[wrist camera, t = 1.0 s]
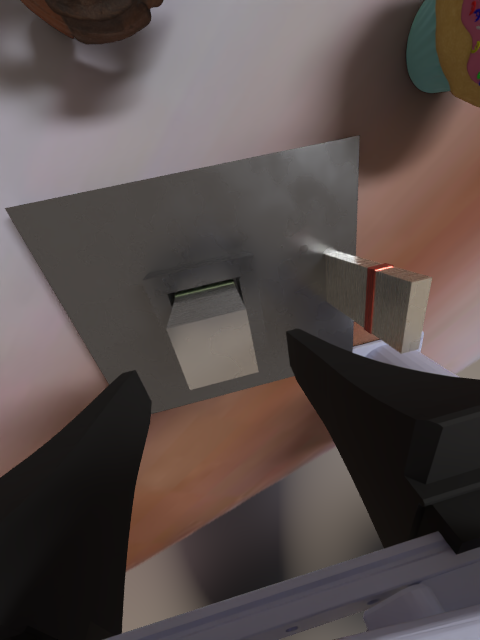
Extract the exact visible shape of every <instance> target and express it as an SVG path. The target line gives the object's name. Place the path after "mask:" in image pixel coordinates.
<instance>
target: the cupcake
mask: <svg viewBox="0 0 480 640" xmlns="http://www.w3.org/2000/svg"><path fill="white" fill-rule="evenodd" d="M406 62H407V69H408V73H409V76H410V78H411V80H412V82H413V83H414V85H415V86H416V87H417V88H418V89H420V90H421V91H423V92H427V93H437V92H445V91H451V93H452V94H453V95H454V96H455V97H457V98H459V99H462V100H464V101H466V102H468V103H470V104H472V105H474V106H477V107H480V0H425V1H424V2H423V4H422V5H421V7H420V9H419V10H418V12H417V14H416V16H415V19H414V21H413V23H412V26H411V29H410V33H409V37H408V42H407V50H406Z"/></svg>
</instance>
